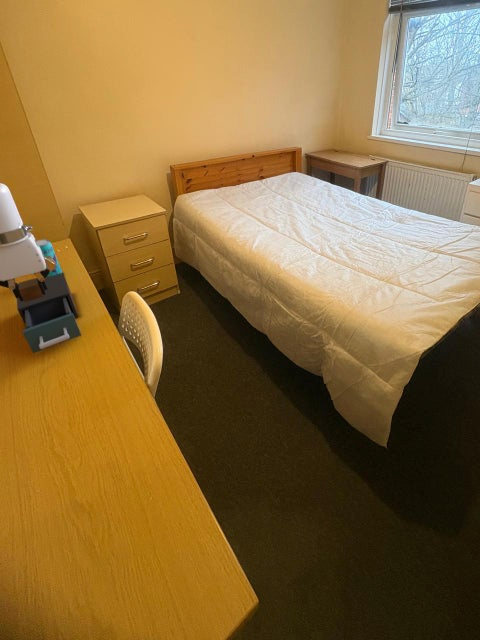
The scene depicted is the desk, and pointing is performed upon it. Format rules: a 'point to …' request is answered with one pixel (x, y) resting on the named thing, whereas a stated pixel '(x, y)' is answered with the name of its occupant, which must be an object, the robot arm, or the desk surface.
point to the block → (30, 290)
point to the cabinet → (50, 295)
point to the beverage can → (49, 255)
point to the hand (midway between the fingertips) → (33, 294)
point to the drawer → (49, 324)
